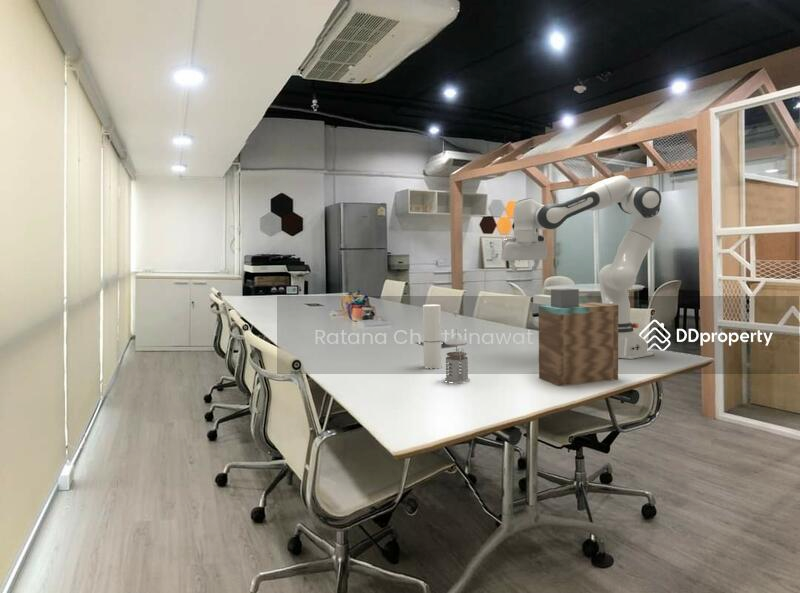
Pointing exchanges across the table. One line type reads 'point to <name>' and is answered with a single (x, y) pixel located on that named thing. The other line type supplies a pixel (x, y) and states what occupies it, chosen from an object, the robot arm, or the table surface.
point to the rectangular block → (559, 298)
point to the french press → (456, 361)
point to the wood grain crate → (578, 343)
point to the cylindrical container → (432, 336)
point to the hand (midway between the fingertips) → (524, 271)
